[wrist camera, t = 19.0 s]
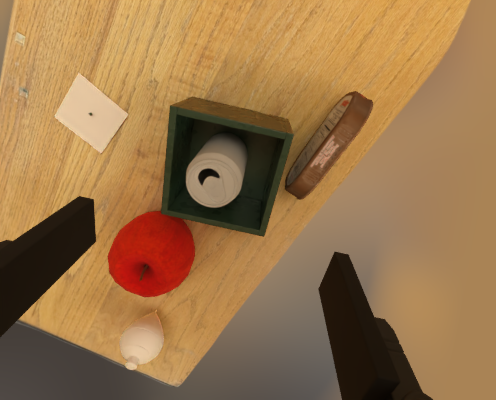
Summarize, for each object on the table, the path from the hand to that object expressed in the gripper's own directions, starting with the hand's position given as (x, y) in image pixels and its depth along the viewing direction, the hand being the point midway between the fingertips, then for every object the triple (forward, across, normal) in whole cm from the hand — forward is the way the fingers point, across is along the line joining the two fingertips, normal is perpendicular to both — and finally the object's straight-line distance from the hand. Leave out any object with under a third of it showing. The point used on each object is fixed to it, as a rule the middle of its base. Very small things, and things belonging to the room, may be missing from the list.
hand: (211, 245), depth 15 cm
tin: (+28, +10, +1) cm, 29 cm away
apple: (+27, -10, -18) cm, 34 cm away
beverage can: (+27, -3, -3) cm, 27 cm away
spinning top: (+27, -11, -39) cm, 49 cm away
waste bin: (+27, -2, -4) cm, 28 cm away
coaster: (+27, -23, -2) cm, 36 cm away
